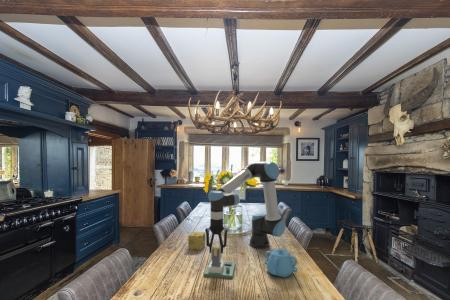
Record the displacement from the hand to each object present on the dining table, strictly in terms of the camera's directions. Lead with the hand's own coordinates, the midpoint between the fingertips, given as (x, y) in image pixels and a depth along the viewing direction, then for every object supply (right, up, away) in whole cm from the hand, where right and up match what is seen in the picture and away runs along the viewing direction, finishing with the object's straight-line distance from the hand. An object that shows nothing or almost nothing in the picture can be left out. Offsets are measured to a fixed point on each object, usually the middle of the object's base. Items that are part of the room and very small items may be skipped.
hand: (216, 258), depth 142 cm
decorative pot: (+37, -8, 0) cm, 38 cm away
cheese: (-16, -9, +38) cm, 42 cm away
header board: (+2, -8, +3) cm, 9 cm away
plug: (0, -3, 0) cm, 3 cm away
